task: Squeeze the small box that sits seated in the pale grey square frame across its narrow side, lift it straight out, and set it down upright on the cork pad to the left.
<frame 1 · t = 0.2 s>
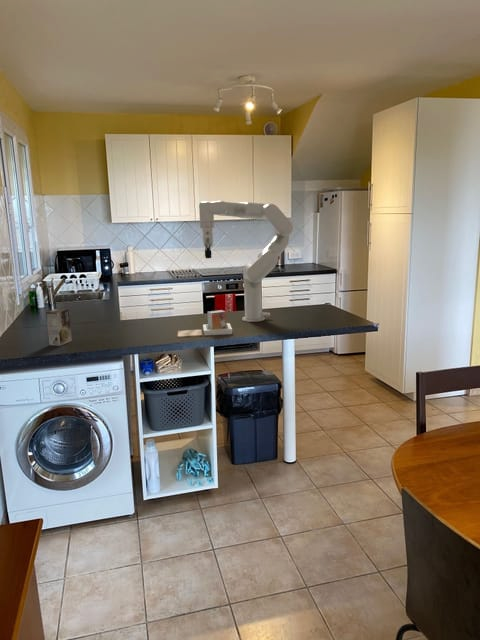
hand: (208, 257, 262), 36 cm above the counter, tool pointing down, fingers open, 9 cm apart
small box: (217, 332, 247), resting in square frame
square frame: (217, 331, 247), on the counter
cork pad: (189, 334, 244), on the counter
coffee box: (61, 343, 233), on the counter
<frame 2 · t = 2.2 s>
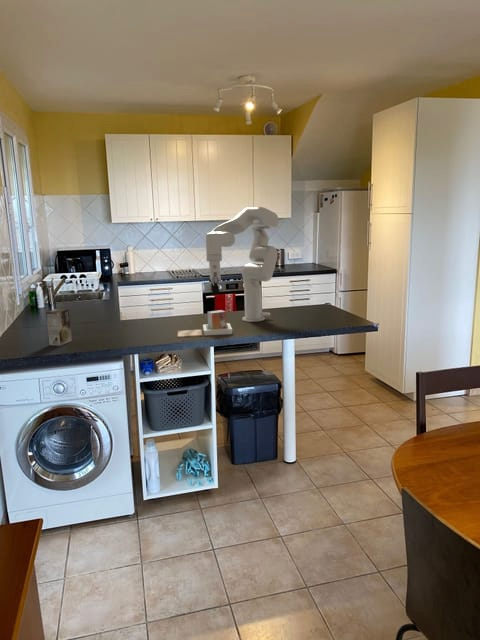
hand: (215, 292, 243), 20 cm above the counter, tool pointing down, fingers open, 9 cm apart
nothing on the counter moved.
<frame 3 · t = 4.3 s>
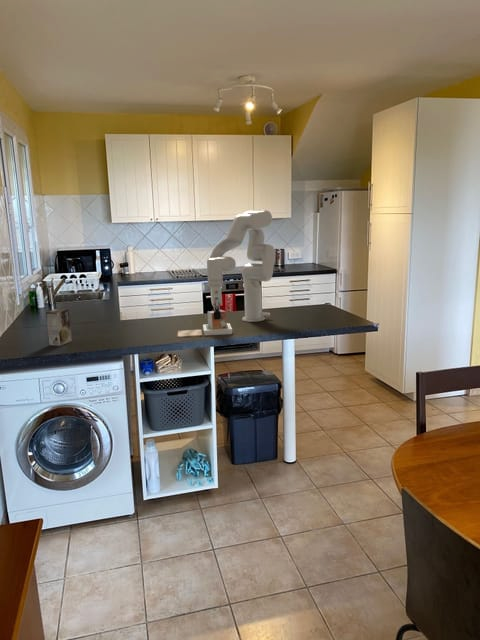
hand: (216, 317, 246), 7 cm above the counter, tool pointing down, fingers closed on small box, 7 cm apart
small box: (217, 331, 247), resting in square frame, touching gripper
everything else where it was.
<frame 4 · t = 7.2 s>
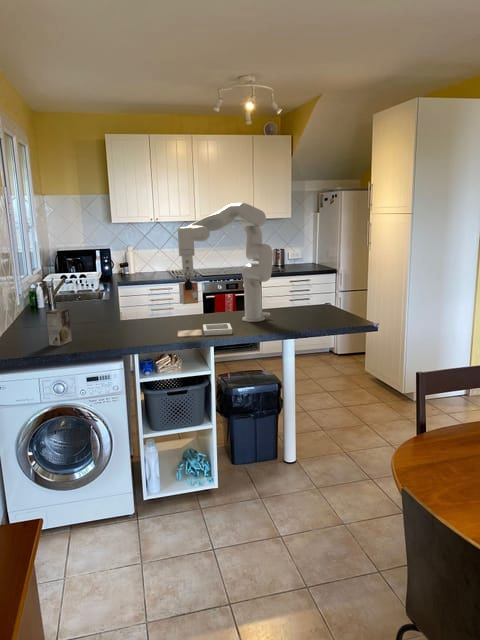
hand: (188, 288, 239), 23 cm above the counter, tool pointing down, fingers closed on small box, 7 cm apart
small box: (189, 303, 241), point 15 cm above the counter, touching gripper
everything else where it was.
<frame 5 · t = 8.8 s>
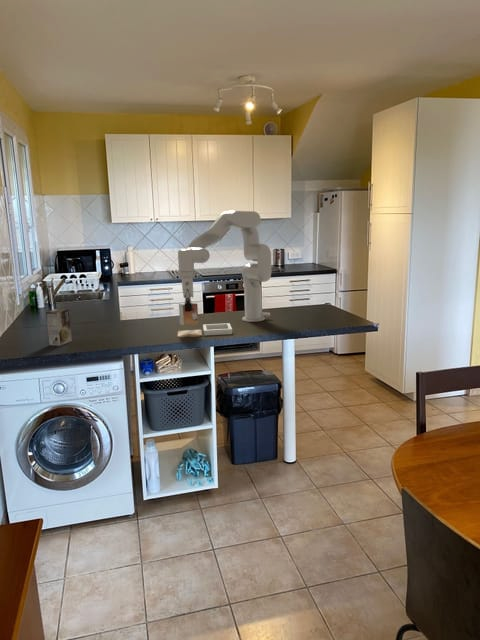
hand: (188, 309, 241), 12 cm above the counter, tool pointing down, fingers closed on small box, 7 cm apart
small box: (189, 324, 243), point 5 cm above the counter, touching gripper
everything else where it was.
when the fingers open (9 cm above the counter, at t = 10.3 s): small box drops 1 cm, resting on cork pad.
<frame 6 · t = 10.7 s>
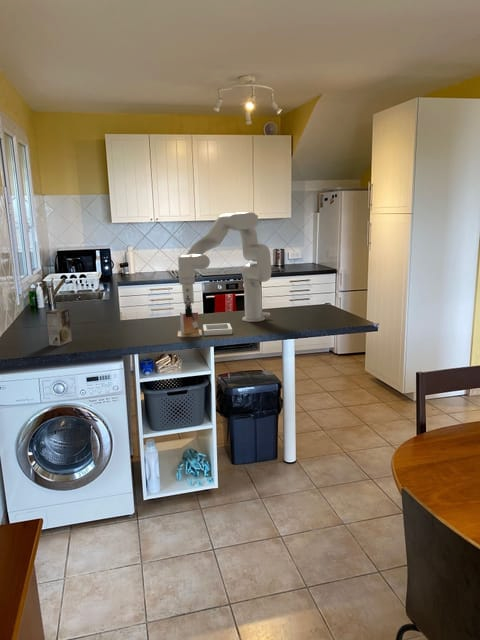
hand: (188, 314, 242), 10 cm above the counter, tool pointing down, fingers open, 9 cm apart
small box: (189, 333, 244), resting on cork pad
everything else where it was.
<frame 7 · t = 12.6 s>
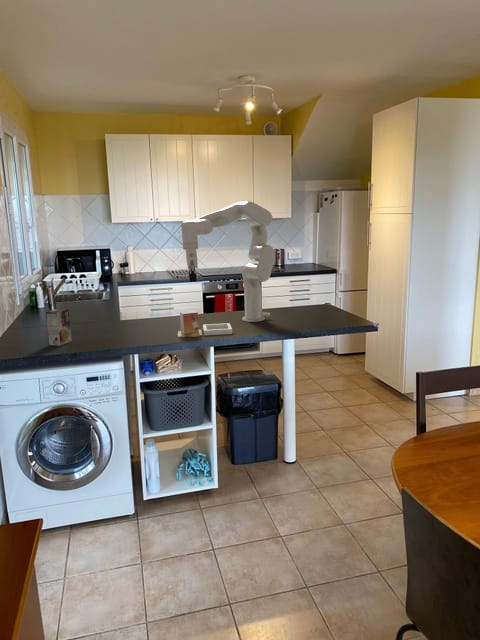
hand: (192, 280, 245), 26 cm above the counter, tool pointing down, fingers open, 9 cm apart
nothing on the counter moved.
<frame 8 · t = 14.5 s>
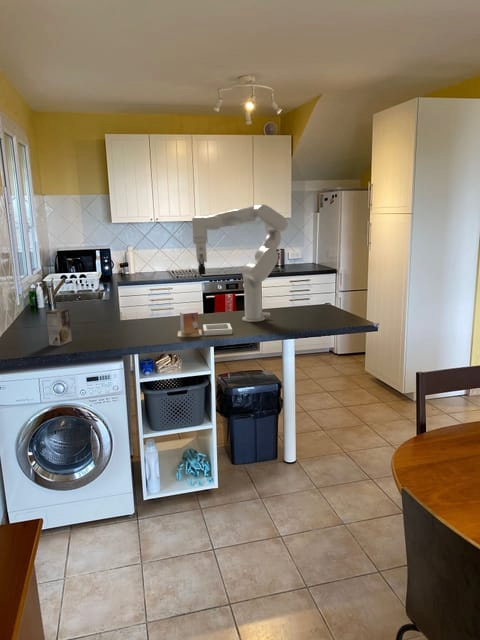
hand: (201, 273, 256), 28 cm above the counter, tool pointing down, fingers open, 9 cm apart
nothing on the counter moved.
at the end: small box inside the target area on the cork pad (0.4 cm from its centre), point 0.4 cm above the cork pad's base; small box tilted 0°; the gripper is holding nothing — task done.
